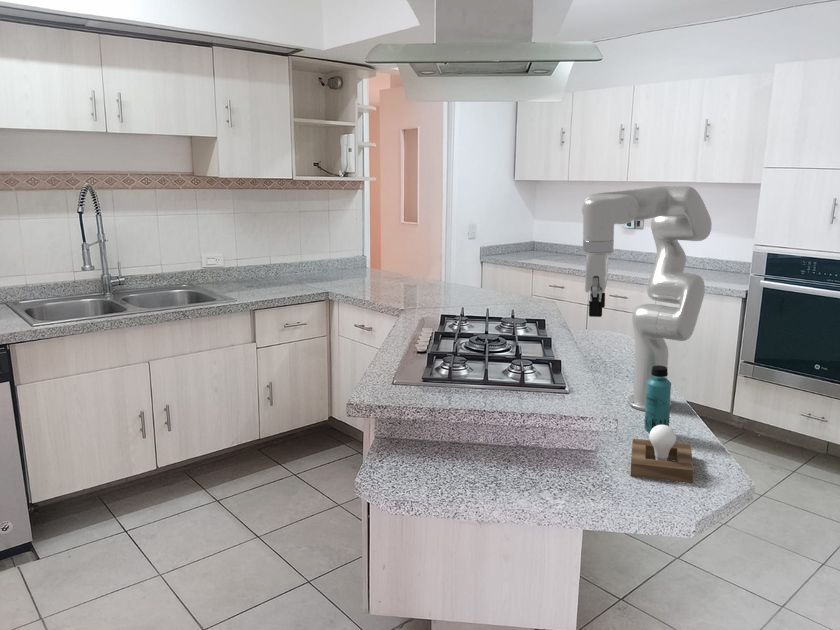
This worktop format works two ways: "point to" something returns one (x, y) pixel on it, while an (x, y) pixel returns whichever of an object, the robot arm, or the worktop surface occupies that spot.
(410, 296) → the worktop surface
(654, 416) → the beverage bottle
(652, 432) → the lightbulb
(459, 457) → the worktop surface
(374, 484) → the worktop surface
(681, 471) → the socket block
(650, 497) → the worktop surface
